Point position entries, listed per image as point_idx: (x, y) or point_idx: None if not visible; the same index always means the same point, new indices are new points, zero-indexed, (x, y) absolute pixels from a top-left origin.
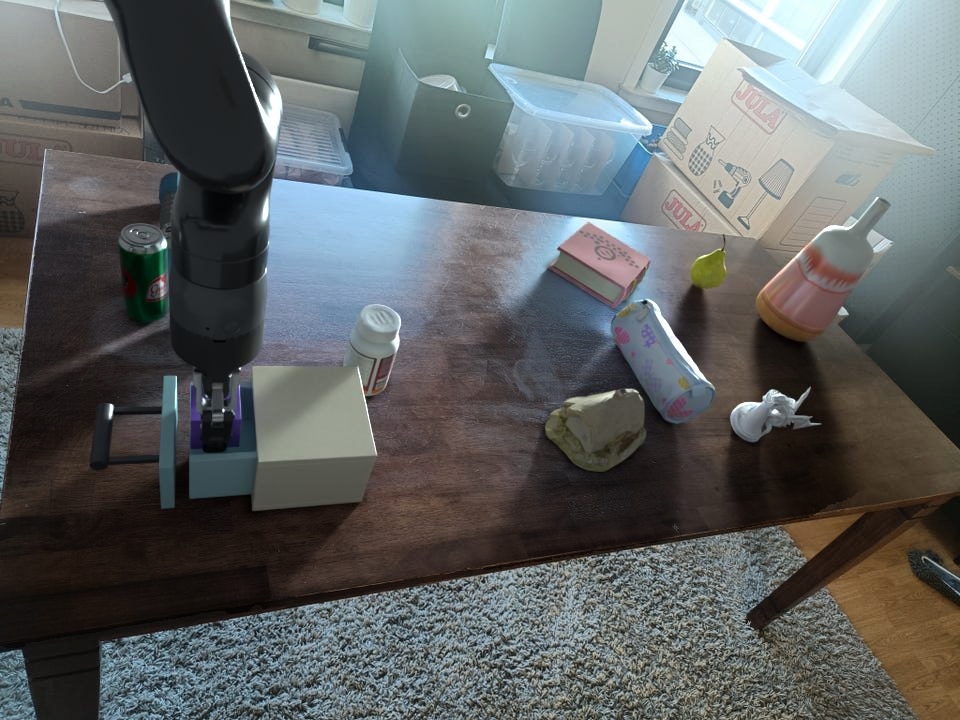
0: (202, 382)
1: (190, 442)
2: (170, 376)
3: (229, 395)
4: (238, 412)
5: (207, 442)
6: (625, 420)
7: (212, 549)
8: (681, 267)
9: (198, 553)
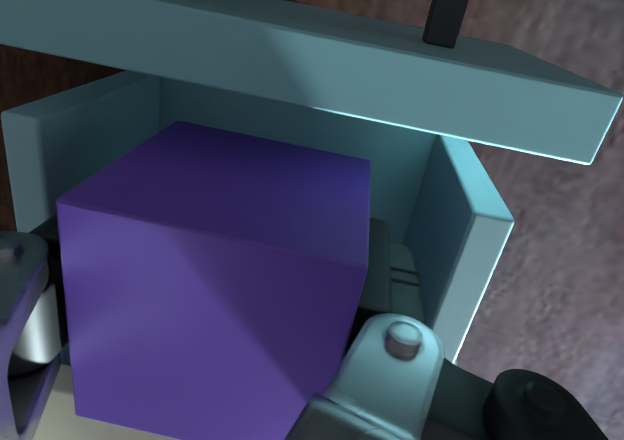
0: (354, 341)
1: (159, 133)
2: (600, 133)
3: (241, 417)
4: (118, 419)
5: (48, 219)
6: None
7: (25, 89)
8: None
9: (14, 52)
